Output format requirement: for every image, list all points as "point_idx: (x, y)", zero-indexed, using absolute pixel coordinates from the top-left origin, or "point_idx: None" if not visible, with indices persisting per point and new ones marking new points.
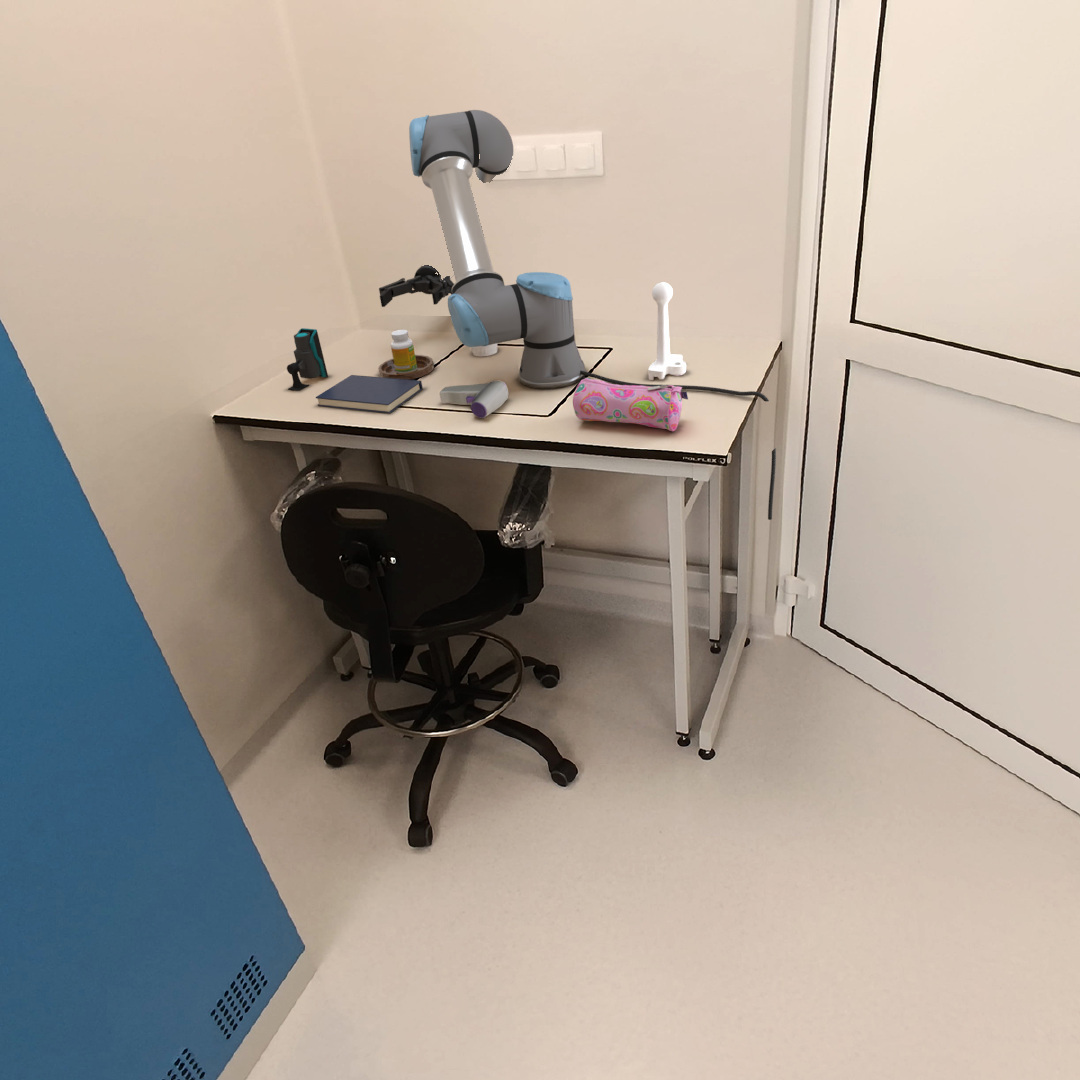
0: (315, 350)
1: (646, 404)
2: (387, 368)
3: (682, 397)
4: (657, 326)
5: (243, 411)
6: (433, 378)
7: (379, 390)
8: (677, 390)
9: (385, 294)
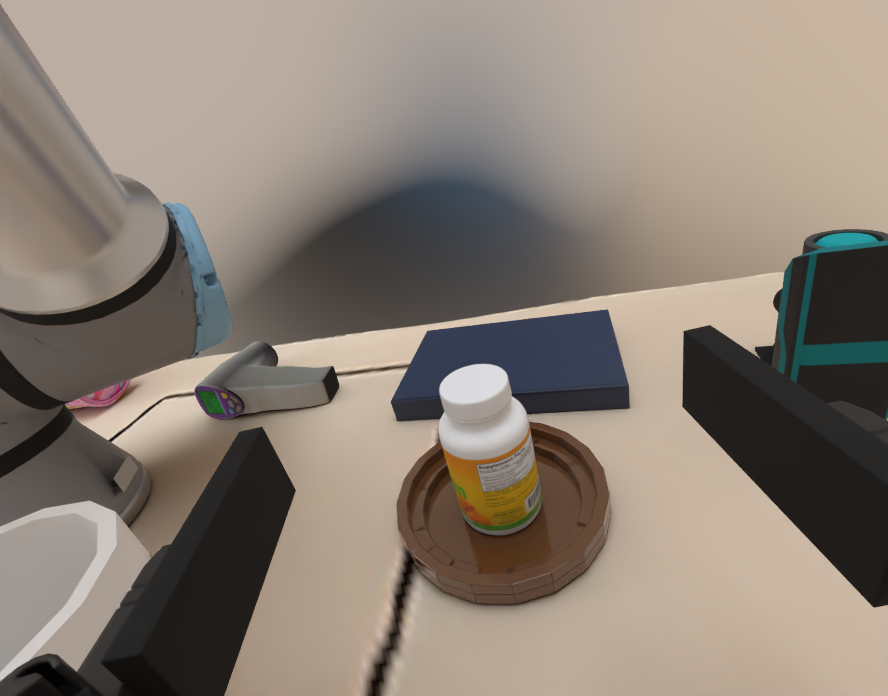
0: (784, 306)
1: None
2: (579, 486)
3: None
4: None
5: (765, 283)
6: (386, 476)
7: (474, 353)
8: None
9: (732, 377)
